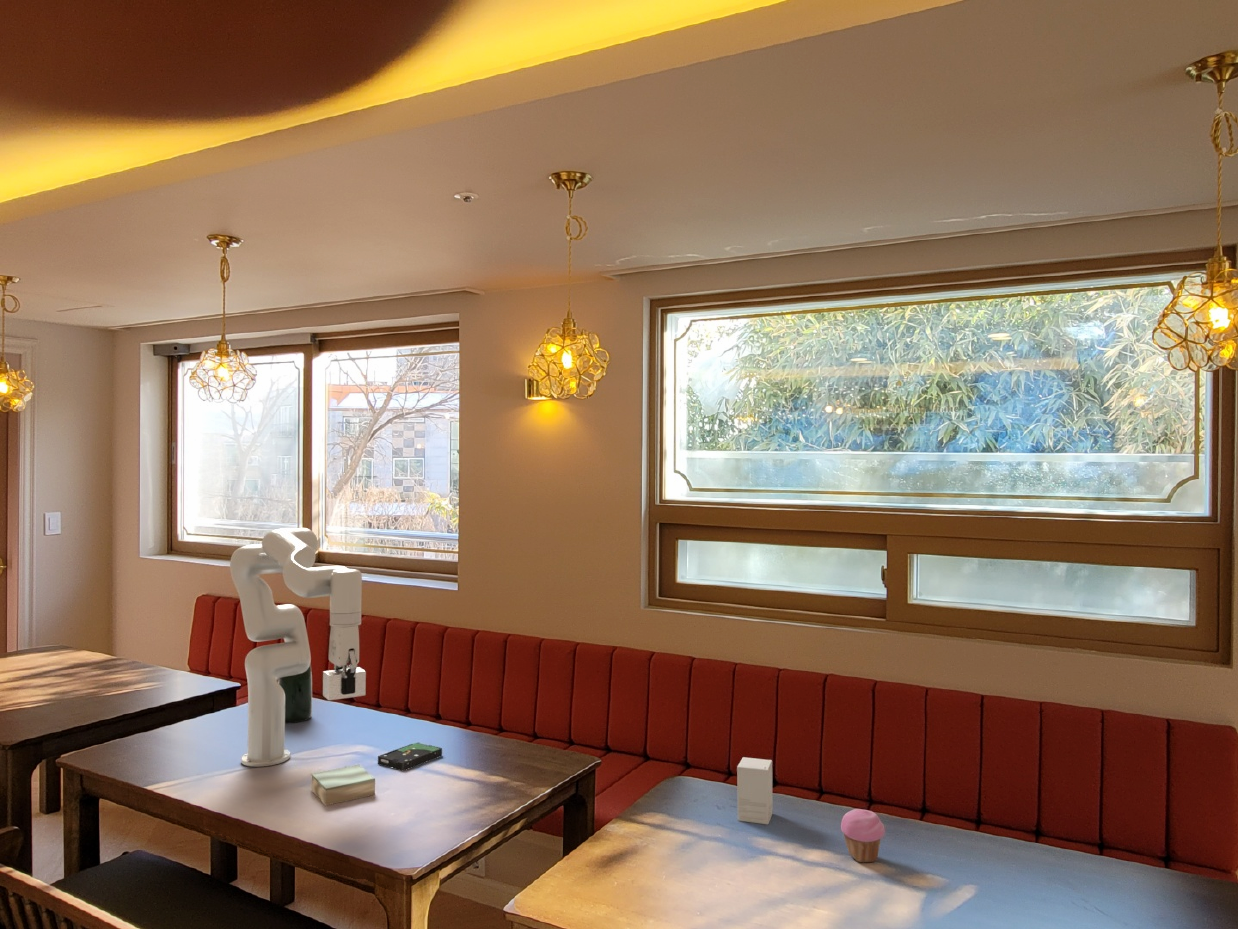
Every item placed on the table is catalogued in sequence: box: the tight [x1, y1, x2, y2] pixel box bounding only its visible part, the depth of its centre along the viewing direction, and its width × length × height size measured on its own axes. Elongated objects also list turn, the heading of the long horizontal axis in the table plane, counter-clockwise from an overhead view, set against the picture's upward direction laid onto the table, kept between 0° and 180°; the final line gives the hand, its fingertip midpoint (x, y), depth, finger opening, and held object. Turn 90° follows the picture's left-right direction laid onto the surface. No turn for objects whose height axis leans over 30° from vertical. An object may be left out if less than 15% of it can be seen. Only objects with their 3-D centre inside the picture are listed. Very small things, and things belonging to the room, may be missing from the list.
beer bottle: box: [277, 663, 313, 724], centre depth 268 cm, size 10×10×33 cm
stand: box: [311, 764, 376, 806], centre depth 206 cm, size 12×12×4 cm
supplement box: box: [736, 756, 774, 825], centre depth 193 cm, size 7×7×13 cm
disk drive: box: [377, 742, 443, 771], centre depth 230 cm, size 10×3×15 cm
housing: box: [322, 666, 367, 701], centre depth 206 cm, size 9×6×6 cm, turn 124°
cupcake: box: [840, 808, 886, 863], centre depth 172 cm, size 9×9×10 cm
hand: (344, 690), depth 206 cm, fingers closed on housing, 5 cm apart
